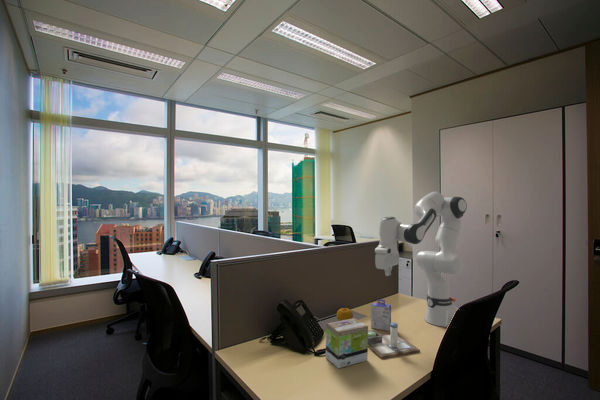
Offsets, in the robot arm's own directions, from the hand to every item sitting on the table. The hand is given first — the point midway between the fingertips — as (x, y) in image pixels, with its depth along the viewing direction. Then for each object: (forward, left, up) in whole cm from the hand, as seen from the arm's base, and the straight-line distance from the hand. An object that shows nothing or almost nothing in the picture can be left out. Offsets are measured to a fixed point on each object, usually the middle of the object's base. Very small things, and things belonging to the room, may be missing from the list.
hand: (388, 275), depth 147 cm
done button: (+14, +7, -28) cm, 32 cm away
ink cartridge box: (0, -6, -29) cm, 30 cm away
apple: (+17, -15, -29) cm, 37 cm away
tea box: (+32, +17, -29) cm, 47 cm away
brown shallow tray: (+8, +12, -29) cm, 32 cm away
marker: (+8, +16, -28) cm, 33 cm away
